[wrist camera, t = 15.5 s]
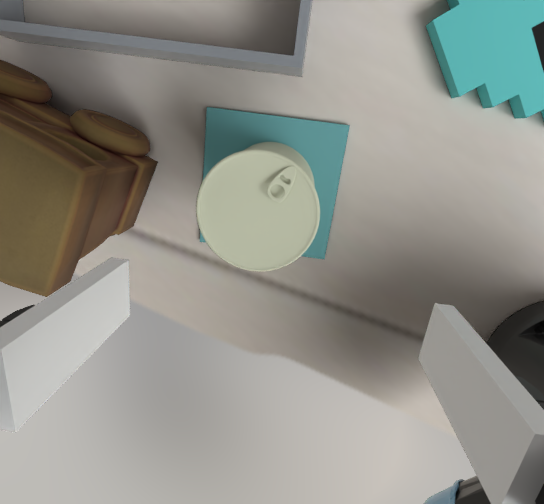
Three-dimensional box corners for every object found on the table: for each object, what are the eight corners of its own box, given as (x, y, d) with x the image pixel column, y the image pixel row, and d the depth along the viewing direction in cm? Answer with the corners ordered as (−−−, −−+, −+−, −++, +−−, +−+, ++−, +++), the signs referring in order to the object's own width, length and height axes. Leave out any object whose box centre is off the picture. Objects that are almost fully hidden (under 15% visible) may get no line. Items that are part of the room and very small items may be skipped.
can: (333, 180, 35) (348, 205, 24) (278, 247, 38) (269, 297, 27) (260, 121, 34) (241, 119, 22) (209, 196, 37) (169, 226, 25)
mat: (324, 258, 38) (324, 259, 38) (200, 240, 39) (199, 241, 39) (349, 125, 34) (349, 125, 33) (207, 107, 34) (206, 106, 34)
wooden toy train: (181, 146, 36) (88, 161, 20) (144, 238, 39) (42, 311, 24) (-5, 48, 34) (-265, -20, 18) (-24, 155, 38) (-253, 174, 22)
